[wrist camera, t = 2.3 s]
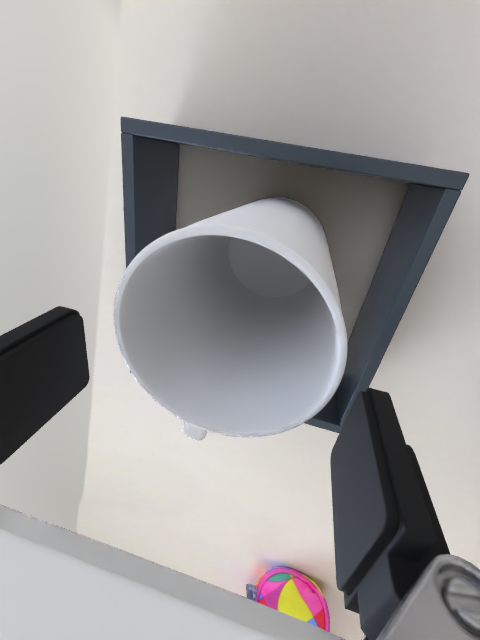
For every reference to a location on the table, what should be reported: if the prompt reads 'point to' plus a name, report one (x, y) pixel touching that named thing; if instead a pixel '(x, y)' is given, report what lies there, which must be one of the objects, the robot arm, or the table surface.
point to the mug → (236, 321)
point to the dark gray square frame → (418, 206)
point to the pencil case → (291, 596)
